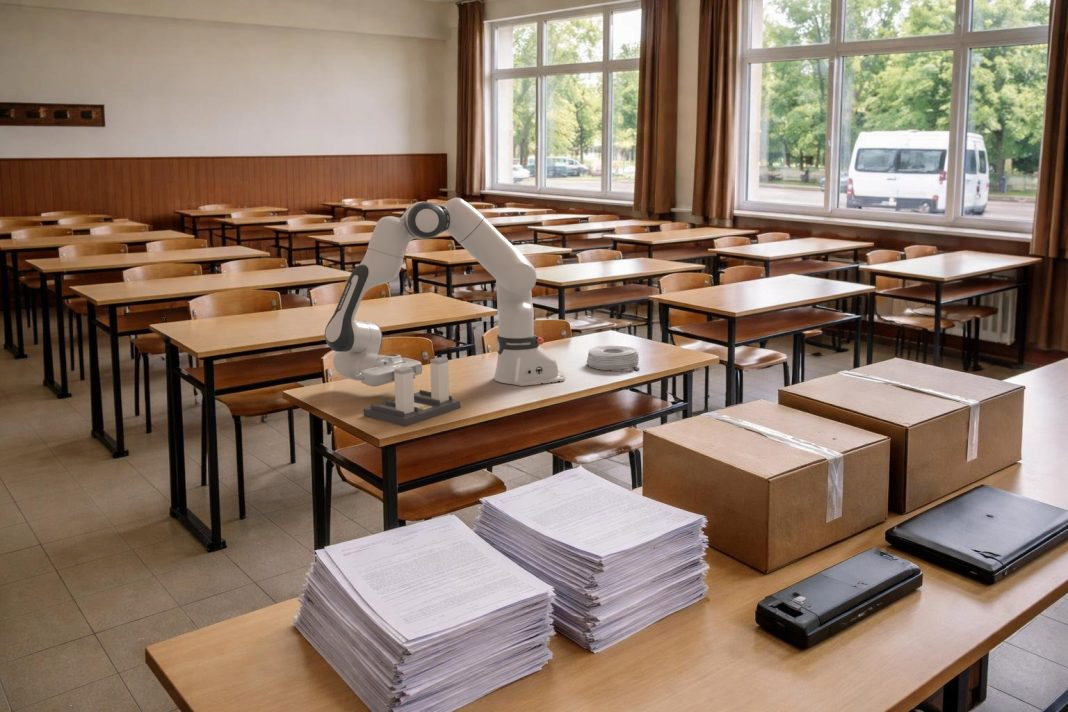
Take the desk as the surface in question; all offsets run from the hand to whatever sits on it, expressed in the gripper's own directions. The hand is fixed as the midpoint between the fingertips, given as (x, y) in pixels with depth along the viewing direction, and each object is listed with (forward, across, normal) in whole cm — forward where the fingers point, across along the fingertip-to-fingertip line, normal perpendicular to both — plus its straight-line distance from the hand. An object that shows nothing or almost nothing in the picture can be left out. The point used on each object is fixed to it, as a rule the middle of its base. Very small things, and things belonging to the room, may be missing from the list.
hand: (411, 376), depth 267 cm
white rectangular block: (+11, -14, +5) cm, 18 cm away
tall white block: (+11, 0, +5) cm, 12 cm away
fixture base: (+7, -7, +8) cm, 12 cm away
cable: (+23, +73, +8) cm, 77 cm away
